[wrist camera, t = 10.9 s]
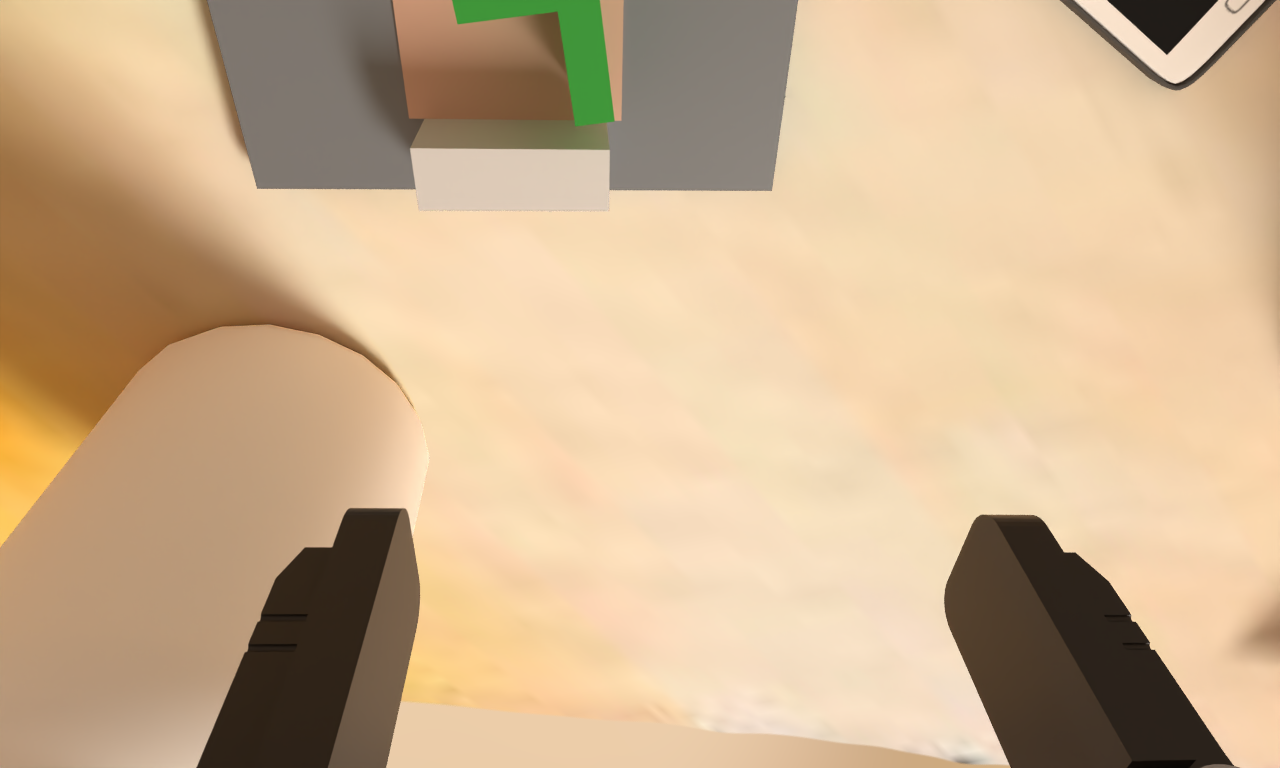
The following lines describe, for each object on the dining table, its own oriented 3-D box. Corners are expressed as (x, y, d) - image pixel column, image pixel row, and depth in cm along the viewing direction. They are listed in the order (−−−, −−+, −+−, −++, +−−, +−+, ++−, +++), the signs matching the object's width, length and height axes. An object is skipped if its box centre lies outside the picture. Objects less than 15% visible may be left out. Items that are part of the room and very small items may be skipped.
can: (166, 526, 37) (-140, 1064, 21) (100, 300, 30) (-437, 853, 14) (433, 539, 39) (336, 1044, 23) (431, 328, 32) (288, 848, 16)
